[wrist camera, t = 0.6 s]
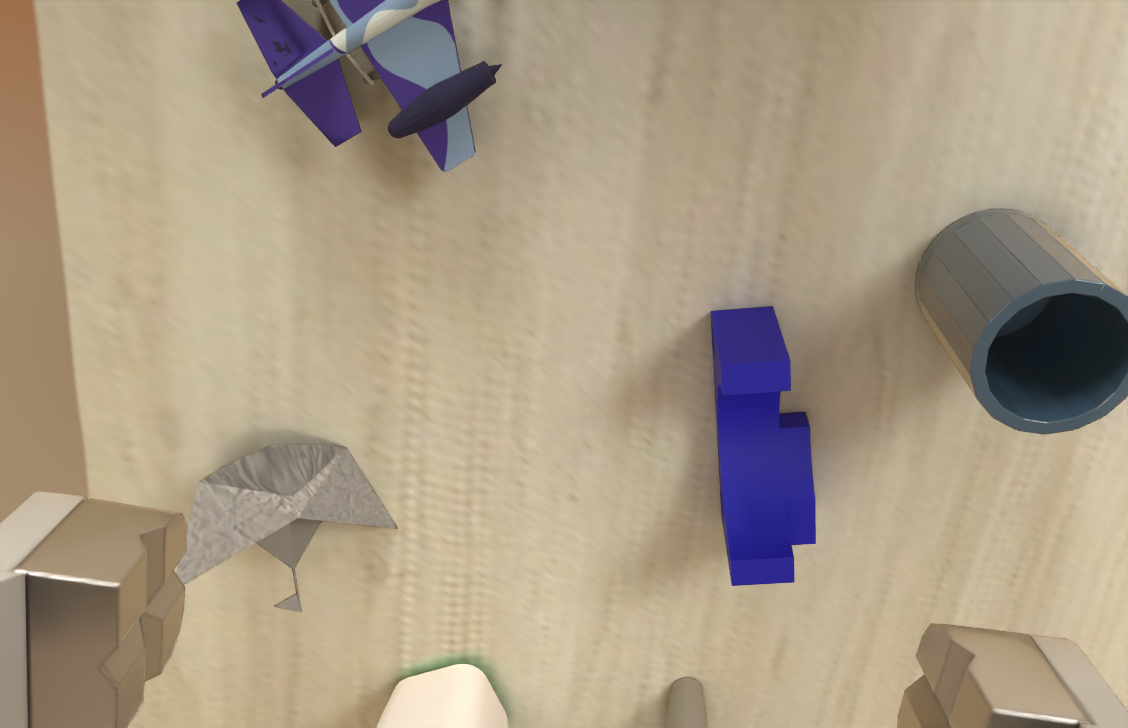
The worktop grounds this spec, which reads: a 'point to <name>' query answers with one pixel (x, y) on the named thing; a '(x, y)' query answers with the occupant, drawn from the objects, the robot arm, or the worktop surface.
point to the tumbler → (1026, 321)
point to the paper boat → (276, 506)
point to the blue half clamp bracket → (759, 449)
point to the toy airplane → (399, 55)
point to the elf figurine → (686, 705)
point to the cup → (444, 701)
